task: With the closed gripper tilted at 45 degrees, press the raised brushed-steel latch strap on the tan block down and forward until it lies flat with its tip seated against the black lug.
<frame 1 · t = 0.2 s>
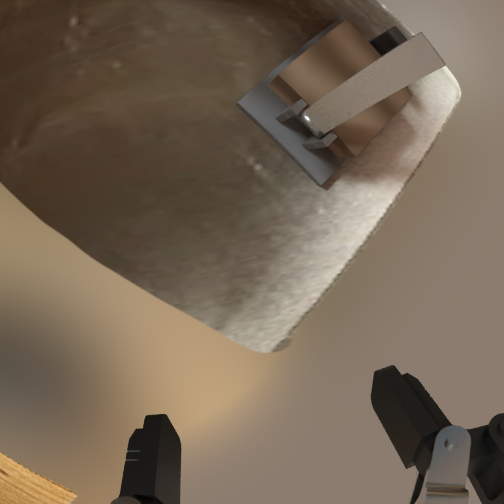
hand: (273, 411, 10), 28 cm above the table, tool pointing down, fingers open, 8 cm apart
latch block: (330, 94, 34), on the table
latch strap: (363, 89, 22), point 13 cm above the table, hinge at 60.0°
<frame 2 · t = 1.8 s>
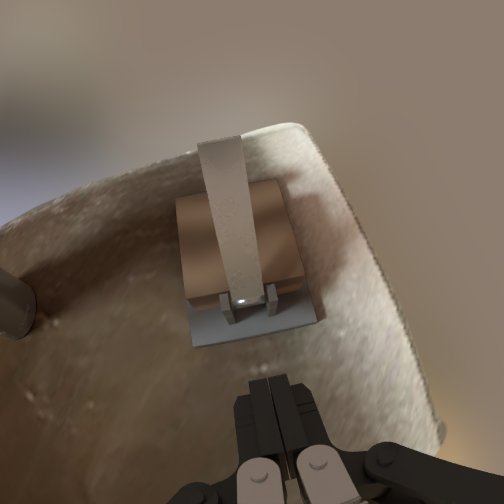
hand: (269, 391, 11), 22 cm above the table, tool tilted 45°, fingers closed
latch block: (239, 258, 38), on the table
latch strap: (236, 235, 24), point 13 cm above the table, hinge at 60.0°
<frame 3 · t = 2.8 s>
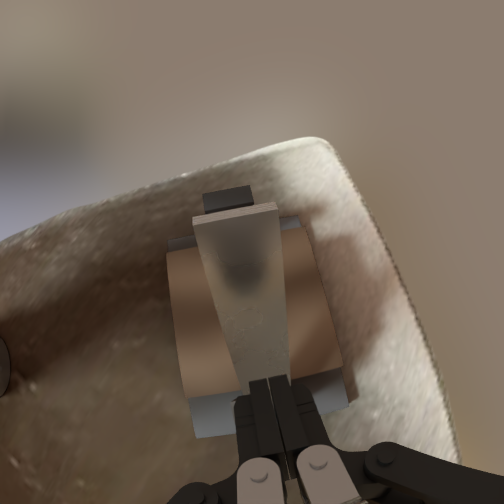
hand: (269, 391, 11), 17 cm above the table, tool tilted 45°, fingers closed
latch block: (251, 324, 29), on the table
latch strap: (258, 347, 15), point 13 cm above the table, hinge at 60.0°
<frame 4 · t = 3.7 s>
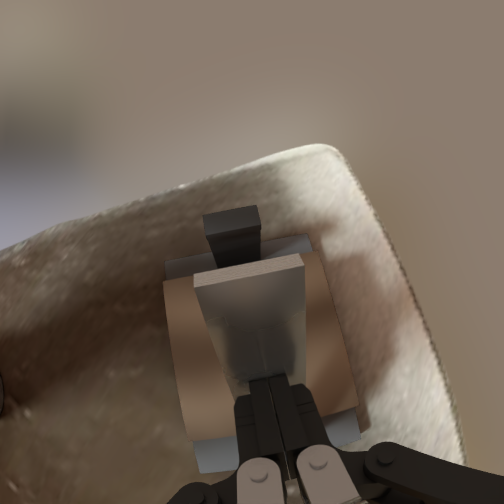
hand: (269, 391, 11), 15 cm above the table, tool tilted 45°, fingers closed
latch block: (257, 353, 26), on the table
latch strap: (271, 403, 13), point 13 cm above the table, hinge at 57.9°, touching gripper
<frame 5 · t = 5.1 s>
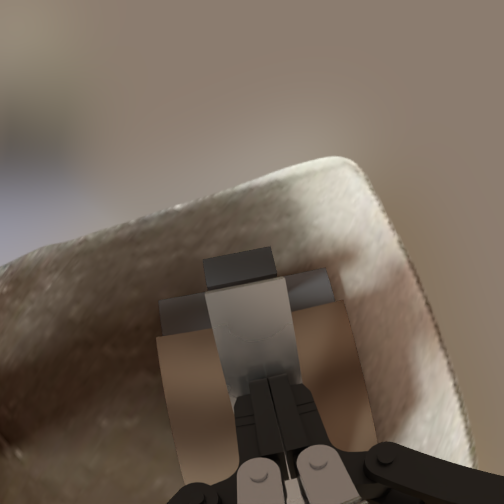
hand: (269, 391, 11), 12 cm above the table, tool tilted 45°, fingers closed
latch block: (267, 406, 22), on the table
latch strap: (278, 446, 12), point 10 cm above the table, hinge at 26.9°, touching gripper
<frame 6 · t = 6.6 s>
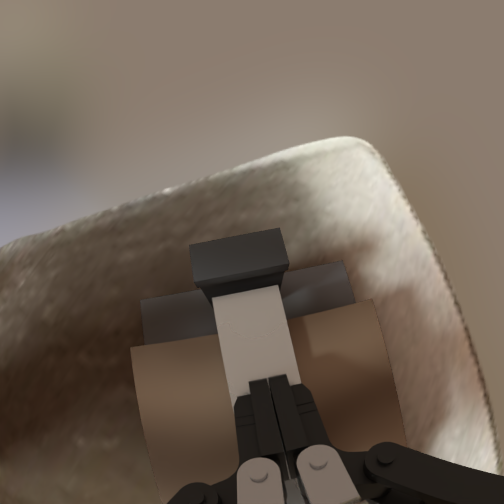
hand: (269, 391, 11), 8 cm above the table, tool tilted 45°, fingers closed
latch block: (272, 429, 17), on the table
latch strap: (281, 460, 11), point 7 cm above the table, hinge at -0.5°, touching gripper
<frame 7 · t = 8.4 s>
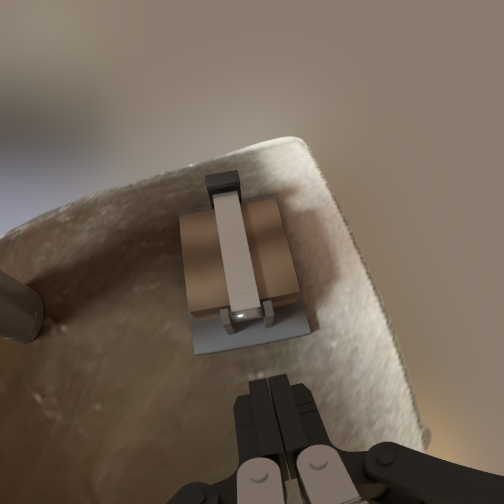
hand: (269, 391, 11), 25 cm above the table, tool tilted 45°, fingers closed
latch block: (238, 271, 40), on the table
latch strap: (235, 251, 34), point 7 cm above the table, hinge at -0.5°
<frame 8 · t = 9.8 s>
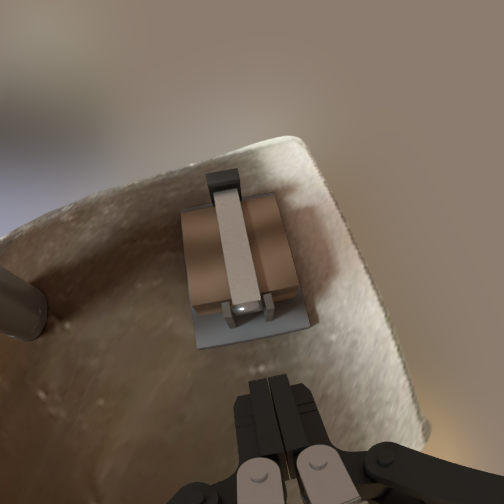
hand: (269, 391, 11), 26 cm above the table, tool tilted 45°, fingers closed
latch block: (239, 267, 41), on the table
latch strap: (235, 246, 35), point 7 cm above the table, hinge at -0.5°
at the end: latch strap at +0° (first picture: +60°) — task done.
